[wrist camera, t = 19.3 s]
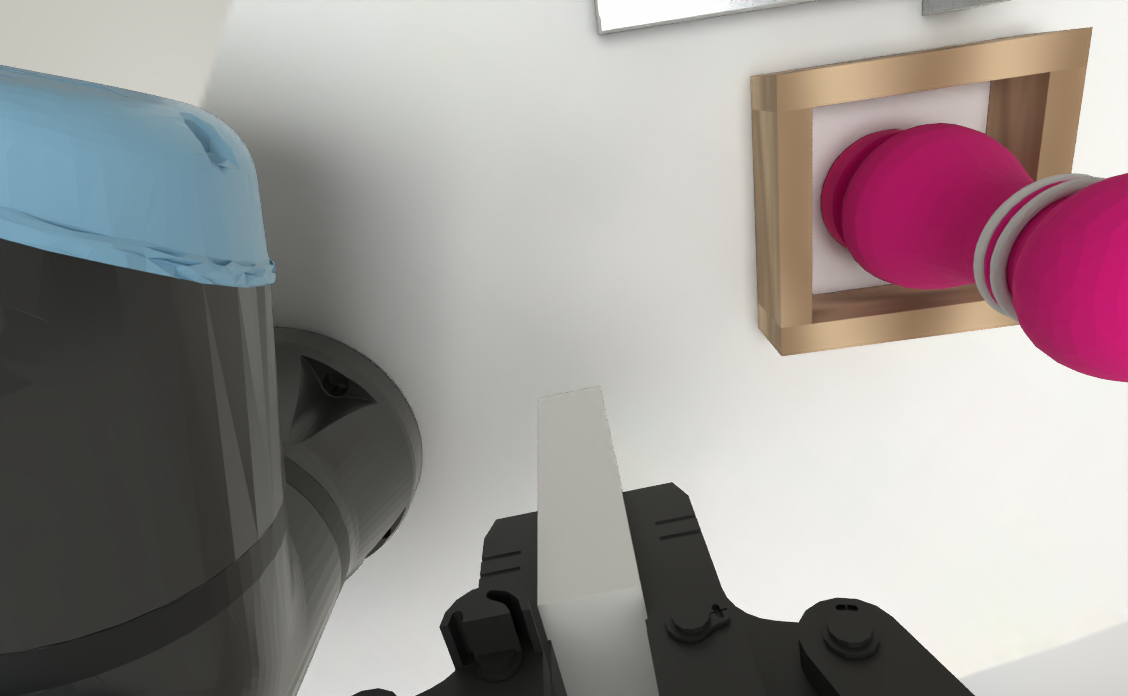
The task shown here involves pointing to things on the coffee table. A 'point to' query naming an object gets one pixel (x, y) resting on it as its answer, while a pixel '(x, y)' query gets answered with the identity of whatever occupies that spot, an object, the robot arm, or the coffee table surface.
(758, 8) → the rail
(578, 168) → the coffee table surface
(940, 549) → the coffee table surface
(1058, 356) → the pepper mill
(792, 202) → the cradle
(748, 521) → the coffee table surface
